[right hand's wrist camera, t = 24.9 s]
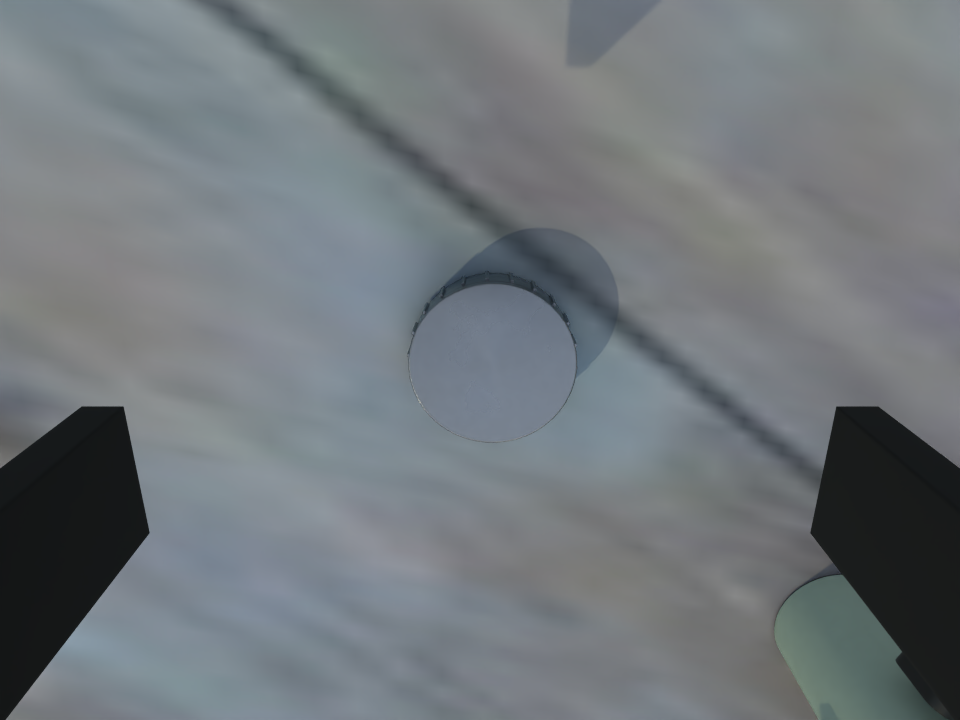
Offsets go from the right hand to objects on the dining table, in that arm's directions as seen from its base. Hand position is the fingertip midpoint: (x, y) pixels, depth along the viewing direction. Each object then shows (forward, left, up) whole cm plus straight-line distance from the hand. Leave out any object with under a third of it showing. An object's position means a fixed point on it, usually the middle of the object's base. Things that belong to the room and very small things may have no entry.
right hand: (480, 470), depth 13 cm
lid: (+1, 0, -9) cm, 9 cm away
